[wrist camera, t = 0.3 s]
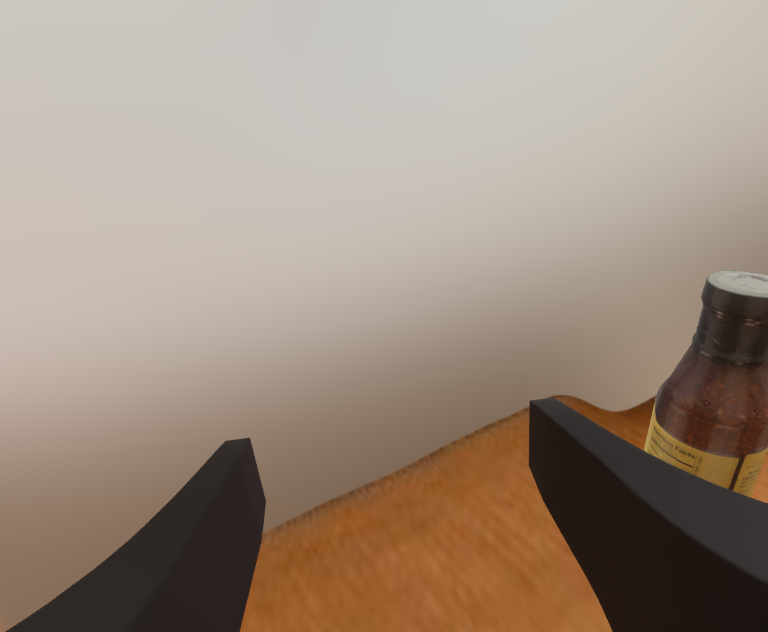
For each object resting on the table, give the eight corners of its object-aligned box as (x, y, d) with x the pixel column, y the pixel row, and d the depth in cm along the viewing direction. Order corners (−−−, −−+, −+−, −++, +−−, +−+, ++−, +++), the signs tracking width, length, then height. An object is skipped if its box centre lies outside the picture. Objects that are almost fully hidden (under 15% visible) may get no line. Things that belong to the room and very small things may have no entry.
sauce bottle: (695, 507, 37) (782, 263, 28) (745, 582, 31) (873, 304, 23) (608, 504, 37) (669, 262, 29) (643, 577, 31) (732, 302, 23)
